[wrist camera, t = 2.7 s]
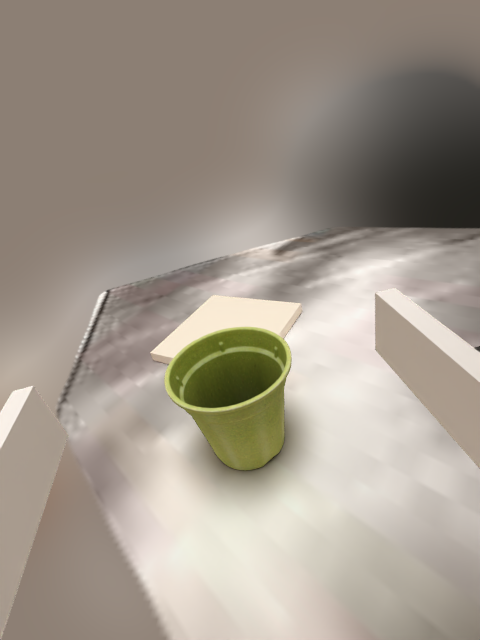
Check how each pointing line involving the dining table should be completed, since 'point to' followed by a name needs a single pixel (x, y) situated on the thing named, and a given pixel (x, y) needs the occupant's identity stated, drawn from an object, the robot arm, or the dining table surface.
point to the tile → (228, 321)
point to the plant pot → (234, 392)
